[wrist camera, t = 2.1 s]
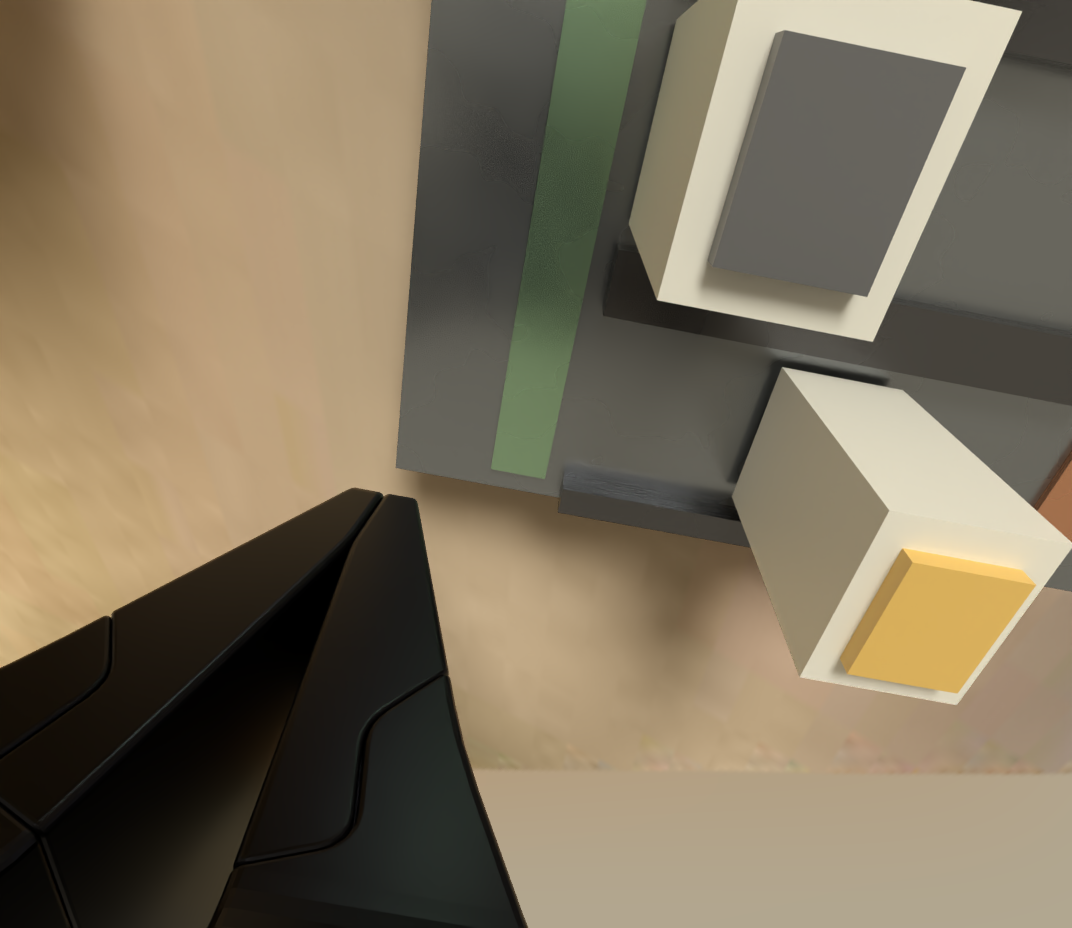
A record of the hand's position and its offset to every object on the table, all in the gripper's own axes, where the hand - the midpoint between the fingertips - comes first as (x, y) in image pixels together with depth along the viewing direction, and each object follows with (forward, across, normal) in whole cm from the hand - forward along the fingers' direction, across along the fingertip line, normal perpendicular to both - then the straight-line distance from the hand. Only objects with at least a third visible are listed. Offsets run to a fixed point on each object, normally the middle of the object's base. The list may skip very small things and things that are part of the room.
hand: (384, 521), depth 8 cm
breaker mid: (+5, -4, -5) cm, 8 cm away
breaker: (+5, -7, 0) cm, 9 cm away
